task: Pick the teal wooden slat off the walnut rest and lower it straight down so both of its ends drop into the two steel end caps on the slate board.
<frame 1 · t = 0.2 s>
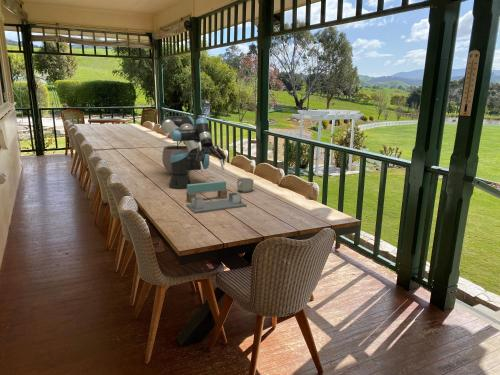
hand: (213, 170, 243), 16 cm above the table, tool tilted 35°, fingers open, 13 cm apart
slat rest: (207, 199, 237), on the table
cap board: (216, 206, 223), on the table
end caps: (216, 200, 222), on the cap board, point 4 cm above the table
plant pot: (178, 173, 305), on the table
teacup: (243, 191, 255), on the table
slat: (206, 191, 235), point 5 cm above the table, touching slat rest
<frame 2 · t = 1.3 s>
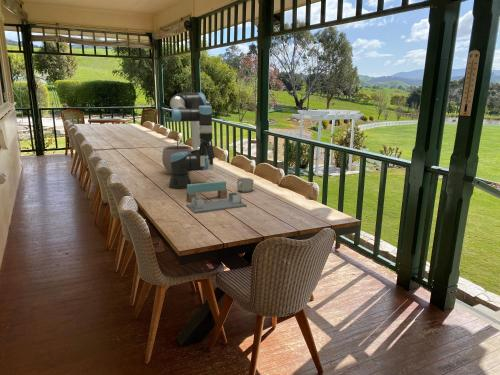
hand: (206, 168, 232), 19 cm above the table, tool pointing down, fingers open, 13 cm apart
nothing on the table moved.
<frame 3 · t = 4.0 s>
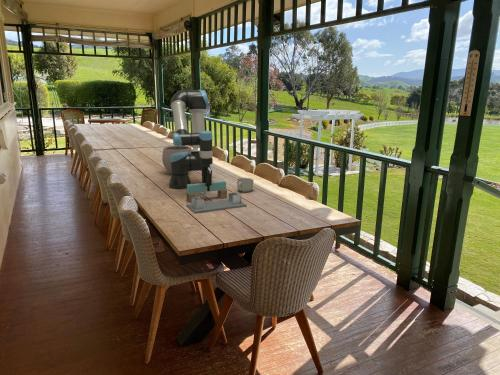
hand: (207, 195, 236), 2 cm above the table, tool pointing down, fingers closed on slat, 3 cm apart
slat: (206, 191, 235), point 5 cm above the table, touching gripper, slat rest
everything else where it was.
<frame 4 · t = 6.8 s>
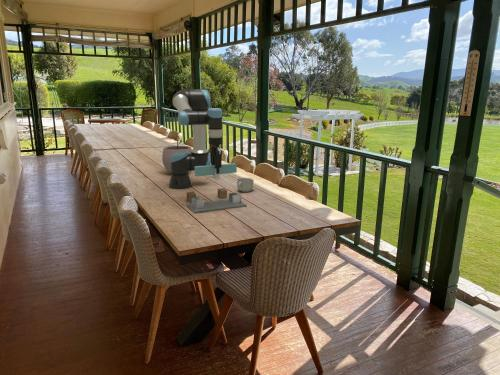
hand: (216, 178, 219), 16 cm above the table, tool pointing down, fingers closed on slat, 3 cm apart
slat: (216, 173, 218), point 19 cm above the table, touching gripper
everything else where it was.
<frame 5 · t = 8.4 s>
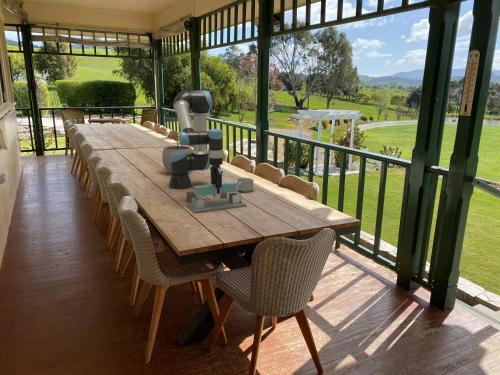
hand: (216, 197, 221), 5 cm above the table, tool pointing down, fingers closed on slat, 3 cm apart
slat: (216, 193, 221), point 8 cm above the table, touching gripper
everything else where it was.
when the fingers open (1 cm above the table, at t = 9.6 s): slat drops 3 cm, resting on cap board.
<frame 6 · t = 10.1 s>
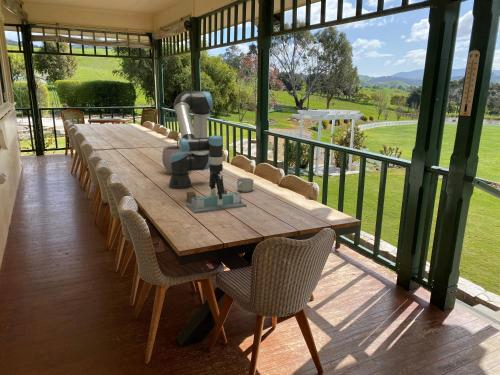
hand: (216, 202, 222), 2 cm above the table, tool pointing down, fingers open, 10 cm apart
slat: (216, 204, 222), point 1 cm above the table, touching cap board
everything else where it was.
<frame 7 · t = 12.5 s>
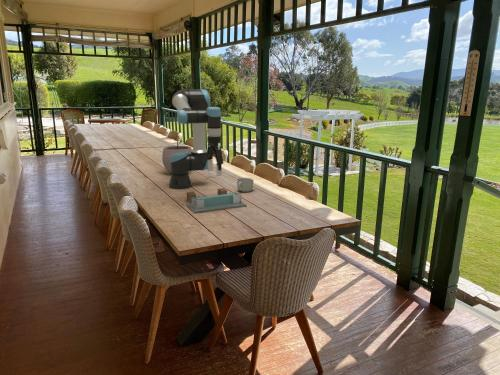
hand: (214, 173, 219), 19 cm above the table, tool pointing down, fingers open, 13 cm apart
nothing on the table moved.
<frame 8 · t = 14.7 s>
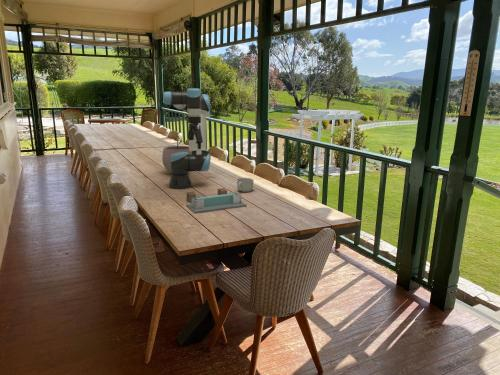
hand: (195, 152, 229), 29 cm above the table, tool pointing down, fingers open, 13 cm apart
nothing on the table moved.
at the end: slat 0.0 cm off-centre on the cap board, point 1.0 cm above the cap board's base; slat tilted 0°; the gripper is holding nothing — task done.
